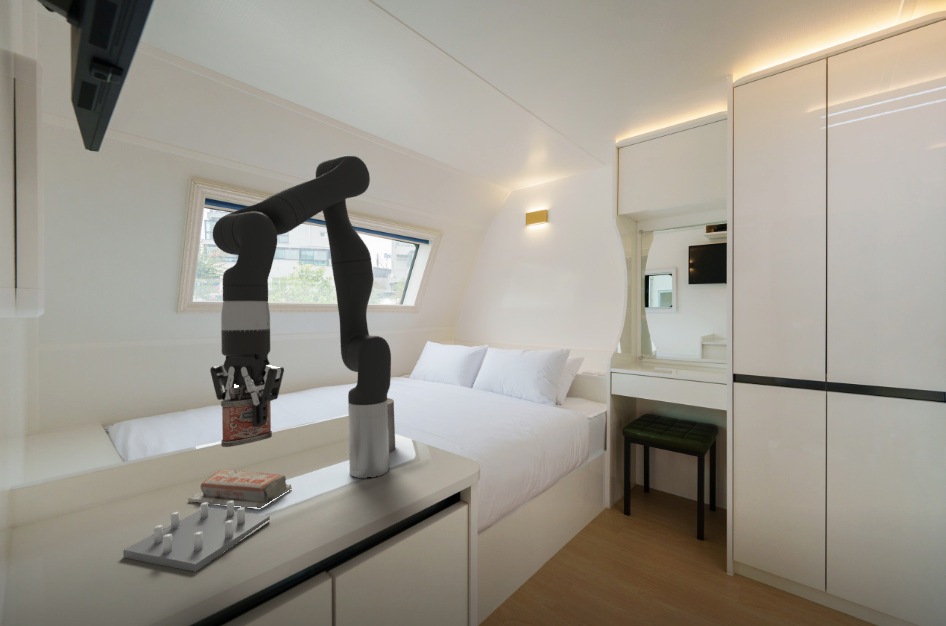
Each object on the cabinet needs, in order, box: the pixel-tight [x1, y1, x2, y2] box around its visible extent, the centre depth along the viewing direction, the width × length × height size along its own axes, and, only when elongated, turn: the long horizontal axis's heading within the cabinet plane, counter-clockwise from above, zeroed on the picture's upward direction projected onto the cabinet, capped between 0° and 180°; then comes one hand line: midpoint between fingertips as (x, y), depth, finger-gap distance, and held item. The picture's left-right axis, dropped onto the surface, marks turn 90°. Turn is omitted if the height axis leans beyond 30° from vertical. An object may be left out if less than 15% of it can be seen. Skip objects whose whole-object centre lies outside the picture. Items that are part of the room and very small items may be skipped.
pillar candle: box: [387, 397, 396, 453], centre depth 117 cm, size 10×10×15 cm
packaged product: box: [187, 469, 293, 508], centre depth 89 cm, size 18×5×10 cm
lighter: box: [220, 384, 273, 448], centre depth 72 cm, size 8×3×10 cm, turn 138°
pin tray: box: [122, 501, 271, 573], centre depth 72 cm, size 15×15×4 cm
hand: (247, 424), depth 72 cm, fingers closed on lighter, 4 cm apart
